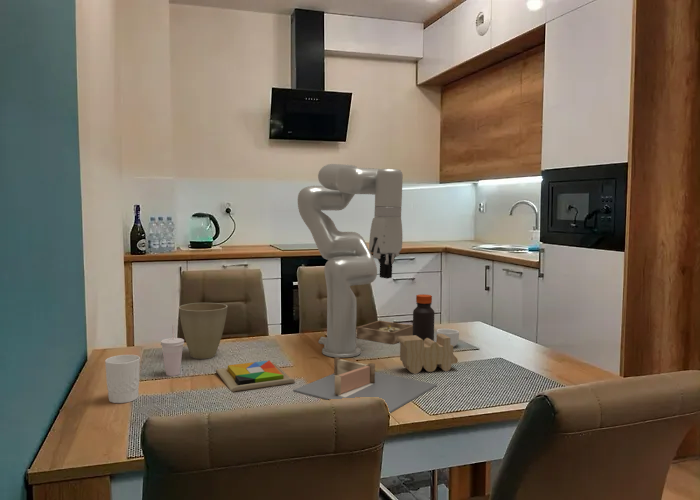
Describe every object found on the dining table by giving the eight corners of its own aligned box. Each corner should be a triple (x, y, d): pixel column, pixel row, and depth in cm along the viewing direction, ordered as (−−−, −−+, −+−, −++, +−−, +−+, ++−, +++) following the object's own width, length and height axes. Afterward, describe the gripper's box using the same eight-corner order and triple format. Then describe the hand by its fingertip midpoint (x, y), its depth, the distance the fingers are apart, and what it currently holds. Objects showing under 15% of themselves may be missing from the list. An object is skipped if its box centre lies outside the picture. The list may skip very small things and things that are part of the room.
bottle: (427, 354, 181) (429, 293, 179) (437, 359, 175) (438, 296, 173) (408, 355, 179) (409, 294, 177) (417, 361, 172) (419, 297, 171)
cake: (370, 340, 202) (369, 325, 202) (386, 336, 210) (385, 322, 210) (392, 342, 196) (391, 327, 196) (408, 338, 203) (407, 323, 203)
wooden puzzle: (232, 395, 142) (232, 381, 142) (214, 374, 158) (214, 362, 158) (296, 385, 150) (296, 372, 150) (272, 367, 167) (272, 355, 166)
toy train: (457, 370, 163) (458, 337, 162) (402, 374, 159) (403, 340, 158) (449, 365, 169) (450, 333, 168) (396, 369, 164) (397, 335, 164)
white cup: (112, 393, 140) (111, 354, 139) (144, 393, 141) (143, 354, 140) (101, 404, 132) (100, 363, 132) (135, 404, 133) (134, 363, 132)
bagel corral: (356, 338, 202) (356, 327, 202) (378, 330, 215) (379, 320, 215) (393, 344, 194) (393, 333, 193) (414, 336, 206) (414, 325, 206)
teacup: (463, 347, 190) (463, 332, 189) (444, 350, 187) (444, 334, 186) (446, 341, 199) (447, 326, 199) (428, 343, 196) (428, 328, 195)
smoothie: (189, 372, 159) (188, 323, 158) (175, 378, 153) (174, 328, 152) (170, 369, 161) (169, 322, 160) (156, 376, 155) (155, 326, 154)
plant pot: (204, 365, 166) (203, 312, 165) (169, 357, 174) (168, 307, 172) (237, 353, 179) (237, 305, 178) (203, 347, 186) (203, 300, 185)
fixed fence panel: (376, 382, 150) (376, 364, 150) (372, 384, 149) (372, 365, 148) (336, 373, 158) (336, 356, 157) (332, 375, 156) (333, 357, 156)
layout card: (293, 391, 143) (293, 389, 143) (350, 367, 165) (350, 366, 165) (386, 415, 127) (386, 413, 127) (436, 385, 149) (436, 384, 149)
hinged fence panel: (365, 382, 149) (365, 365, 149) (370, 383, 148) (370, 366, 148) (333, 393, 140) (333, 376, 139) (337, 395, 139) (338, 377, 138)
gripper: (393, 212, 164) (391, 273, 166) (360, 212, 153) (358, 278, 155) (414, 213, 159) (411, 276, 161) (381, 214, 148) (379, 282, 150)
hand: (385, 277), depth 158 cm, fingers closed
